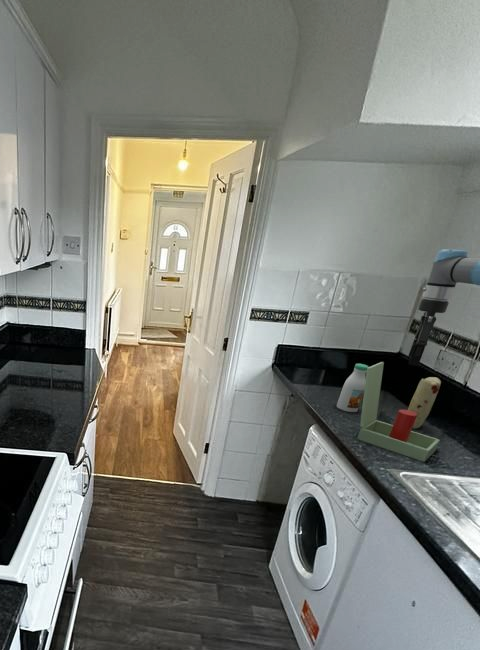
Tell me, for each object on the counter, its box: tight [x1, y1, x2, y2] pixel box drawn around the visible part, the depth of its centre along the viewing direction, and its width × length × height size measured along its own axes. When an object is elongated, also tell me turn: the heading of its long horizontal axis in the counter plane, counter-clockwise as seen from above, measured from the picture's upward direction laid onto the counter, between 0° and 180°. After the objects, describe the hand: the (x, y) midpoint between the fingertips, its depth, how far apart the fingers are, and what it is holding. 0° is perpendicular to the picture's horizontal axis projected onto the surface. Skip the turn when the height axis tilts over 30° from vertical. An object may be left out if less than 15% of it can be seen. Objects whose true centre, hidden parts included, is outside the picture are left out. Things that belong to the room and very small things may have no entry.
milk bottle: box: [336, 363, 369, 413], centre depth 168 cm, size 8×8×20 cm
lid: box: [359, 361, 385, 428], centre depth 145 cm, size 21×14×1 cm
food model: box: [407, 376, 442, 430], centre depth 156 cm, size 10×7×20 cm
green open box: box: [356, 419, 441, 463], centre depth 142 cm, size 20×14×5 cm
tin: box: [389, 409, 417, 442], centre depth 140 cm, size 5×5×12 cm
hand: (412, 361), depth 146 cm, fingers open, 13 cm apart
